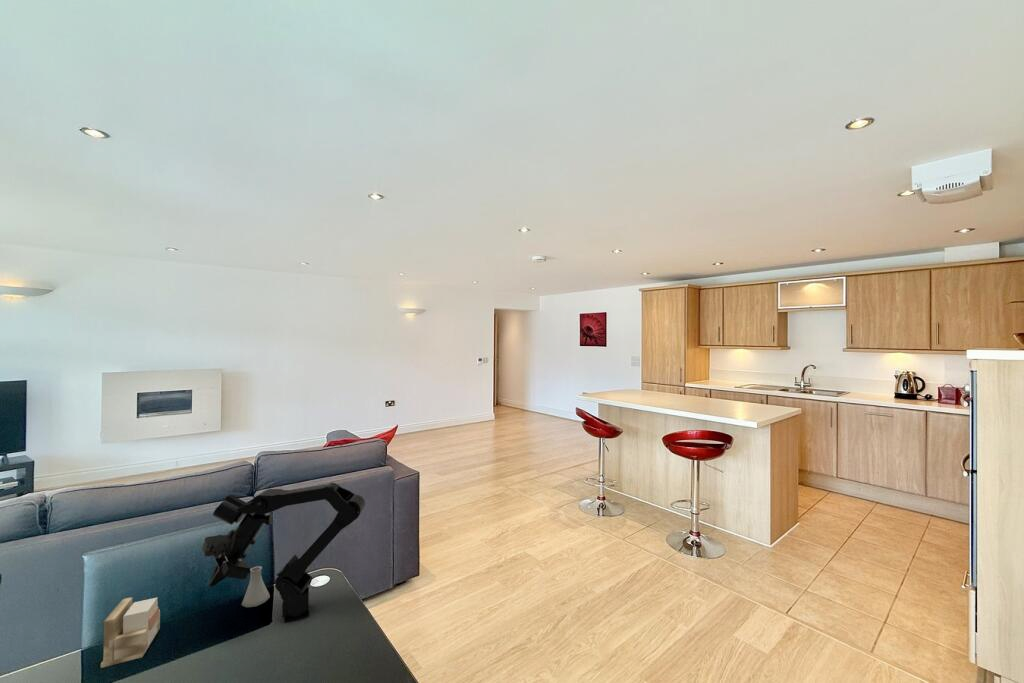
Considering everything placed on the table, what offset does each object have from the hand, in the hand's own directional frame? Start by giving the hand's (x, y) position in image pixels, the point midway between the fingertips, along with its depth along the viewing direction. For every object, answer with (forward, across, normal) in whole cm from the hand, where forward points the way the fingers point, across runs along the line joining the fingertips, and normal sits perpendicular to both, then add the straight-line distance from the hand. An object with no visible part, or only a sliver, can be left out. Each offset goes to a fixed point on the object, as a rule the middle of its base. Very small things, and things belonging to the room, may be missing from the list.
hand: (210, 586), depth 116 cm
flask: (+5, -3, +18) cm, 19 cm away
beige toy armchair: (+19, -4, -6) cm, 20 cm away
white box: (+17, -3, -6) cm, 18 cm away
